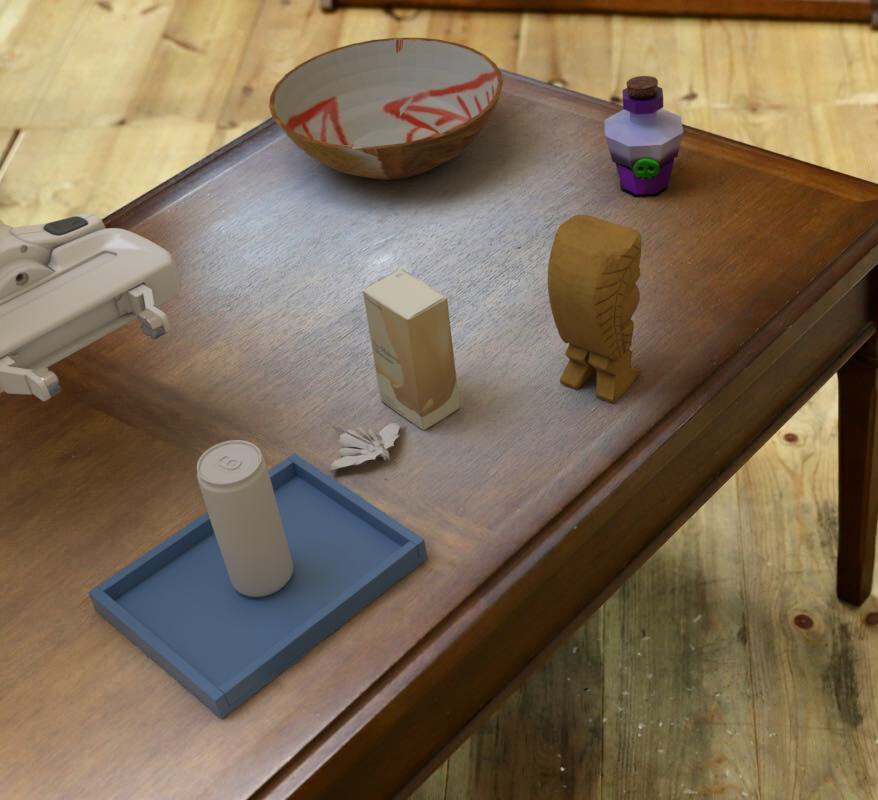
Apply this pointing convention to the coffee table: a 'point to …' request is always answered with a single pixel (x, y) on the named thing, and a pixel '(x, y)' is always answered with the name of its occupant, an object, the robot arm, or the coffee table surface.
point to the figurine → (595, 301)
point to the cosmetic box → (412, 348)
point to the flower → (365, 445)
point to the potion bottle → (643, 139)
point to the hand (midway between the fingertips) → (107, 357)
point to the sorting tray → (258, 618)
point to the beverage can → (245, 517)
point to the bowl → (387, 105)
